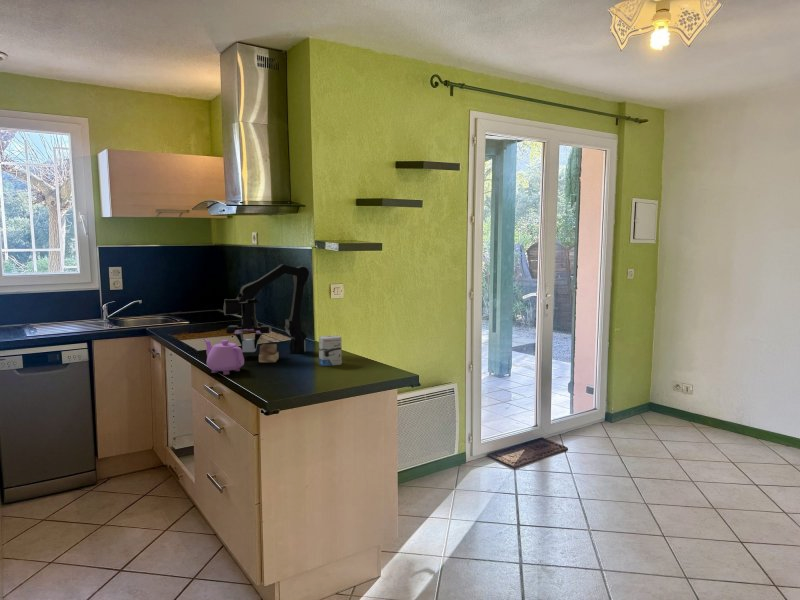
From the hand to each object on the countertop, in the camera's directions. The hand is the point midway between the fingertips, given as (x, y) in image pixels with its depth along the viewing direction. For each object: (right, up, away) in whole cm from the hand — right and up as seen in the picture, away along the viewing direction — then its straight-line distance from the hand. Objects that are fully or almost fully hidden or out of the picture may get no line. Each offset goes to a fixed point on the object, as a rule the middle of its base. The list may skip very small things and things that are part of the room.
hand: (249, 348), depth 247 cm
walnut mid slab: (+10, -1, -8) cm, 13 cm away
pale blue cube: (0, -1, 0) cm, 1 cm away
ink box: (+38, -6, -14) cm, 41 cm away
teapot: (-3, -7, -26) cm, 27 cm away
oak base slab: (+10, -5, -7) cm, 13 cm away
